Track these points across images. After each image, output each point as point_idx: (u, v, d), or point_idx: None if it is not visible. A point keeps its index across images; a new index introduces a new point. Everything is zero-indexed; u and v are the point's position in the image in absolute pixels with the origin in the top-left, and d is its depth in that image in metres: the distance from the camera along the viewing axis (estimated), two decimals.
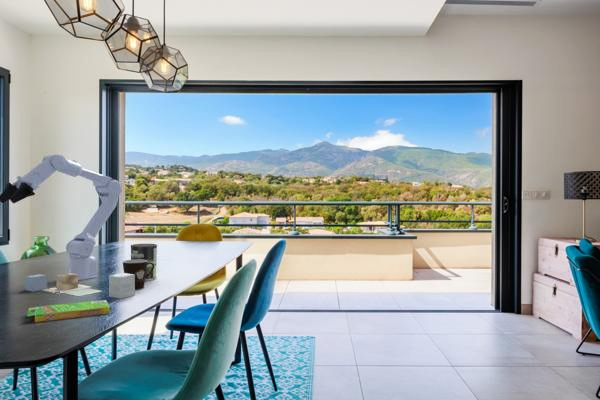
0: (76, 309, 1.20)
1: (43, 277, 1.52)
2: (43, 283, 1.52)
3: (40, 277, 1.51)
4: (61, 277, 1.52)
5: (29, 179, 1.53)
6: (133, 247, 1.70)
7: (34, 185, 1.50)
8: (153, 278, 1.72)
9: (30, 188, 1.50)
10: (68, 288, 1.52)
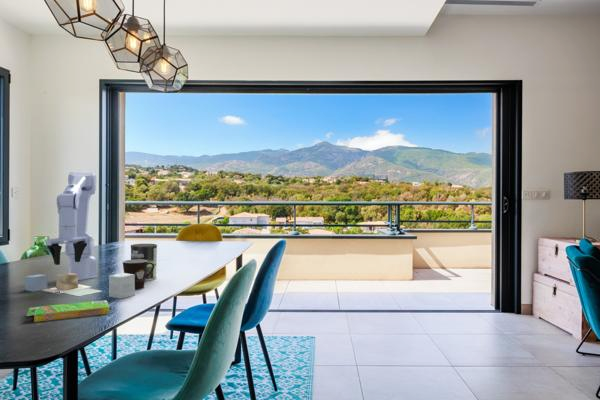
0: (76, 309, 1.20)
1: (43, 277, 1.52)
2: (43, 283, 1.52)
3: (40, 277, 1.51)
4: (61, 277, 1.52)
5: (76, 235, 1.55)
6: (133, 247, 1.70)
7: None
8: (153, 278, 1.72)
9: None
10: (68, 288, 1.52)
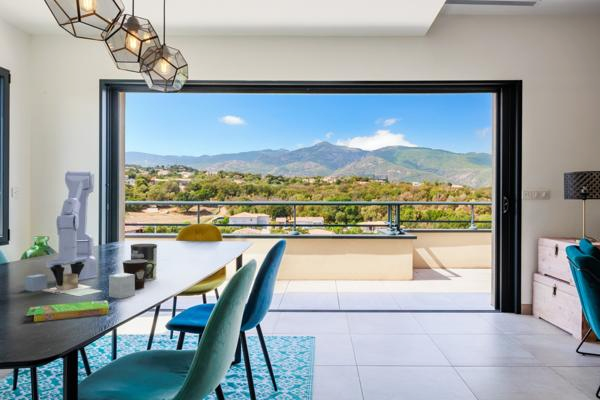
0: (75, 309, 1.20)
1: (43, 277, 1.52)
2: (43, 283, 1.52)
3: (40, 277, 1.51)
4: None
5: (76, 256, 1.55)
6: (133, 247, 1.70)
7: None
8: (153, 278, 1.72)
9: None
10: (68, 288, 1.52)
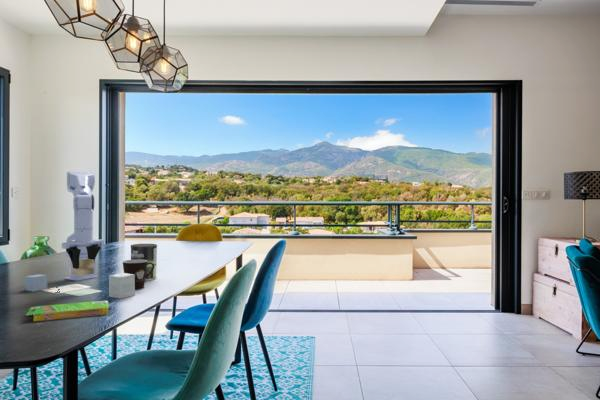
0: (75, 309, 1.20)
1: (43, 277, 1.52)
2: (43, 283, 1.52)
3: (40, 277, 1.51)
4: None
5: (92, 238, 1.50)
6: (133, 247, 1.70)
7: None
8: (153, 278, 1.72)
9: None
10: (84, 273, 1.46)
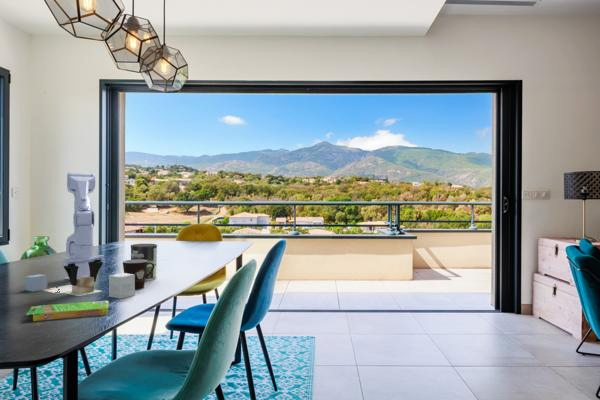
0: (74, 309, 1.20)
1: (43, 277, 1.52)
2: (43, 283, 1.52)
3: (40, 277, 1.51)
4: (77, 280, 1.46)
5: (92, 254, 1.50)
6: (133, 247, 1.70)
7: None
8: (153, 278, 1.72)
9: None
10: (84, 292, 1.46)
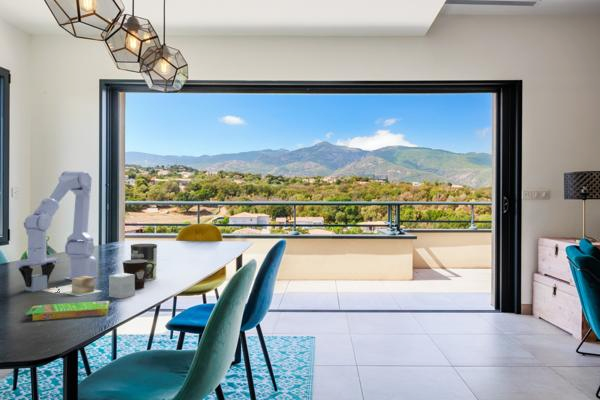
0: (74, 309, 1.20)
1: (43, 277, 1.52)
2: (43, 283, 1.52)
3: (40, 277, 1.51)
4: (77, 280, 1.46)
5: None
6: (133, 247, 1.70)
7: None
8: (153, 278, 1.72)
9: None
10: (84, 292, 1.46)
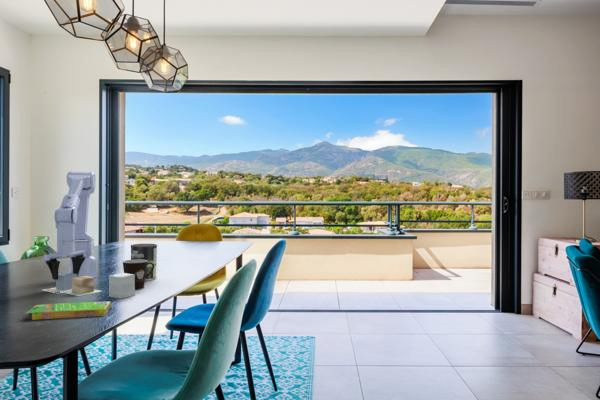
0: (73, 309, 1.20)
1: (73, 276, 1.54)
2: None
3: (71, 276, 1.53)
4: (77, 280, 1.46)
5: (74, 249, 1.56)
6: (133, 247, 1.70)
7: None
8: (153, 278, 1.72)
9: None
10: (84, 292, 1.46)
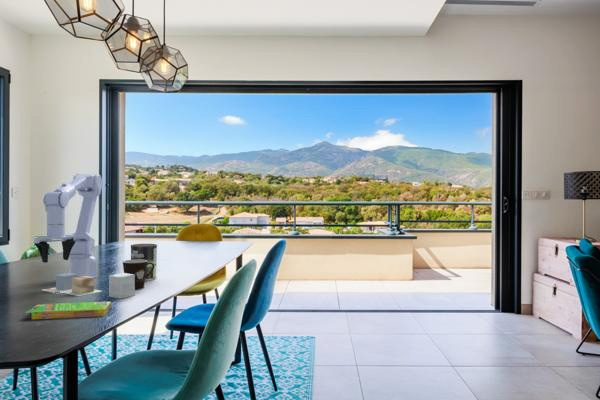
0: (72, 309, 1.20)
1: (73, 276, 1.54)
2: None
3: (71, 276, 1.53)
4: (77, 280, 1.46)
5: (64, 233, 1.57)
6: (133, 247, 1.70)
7: None
8: (153, 278, 1.72)
9: None
10: (84, 292, 1.46)
